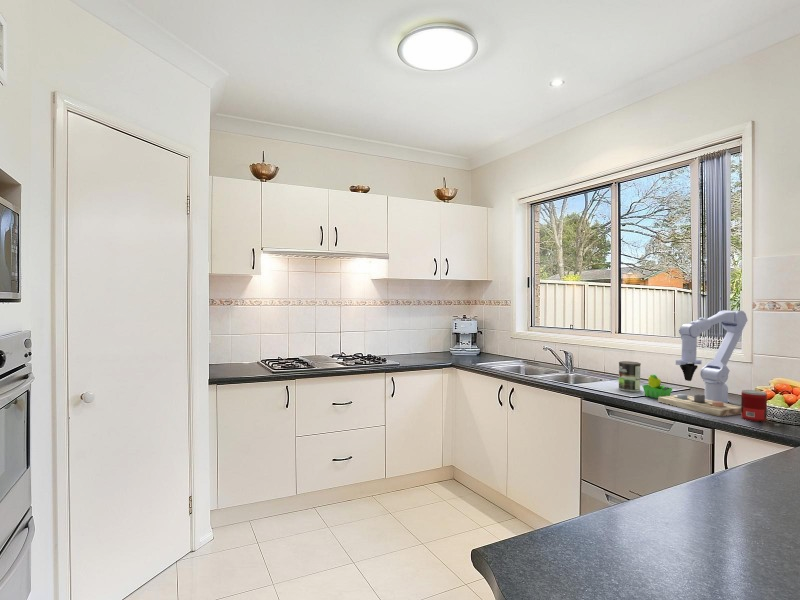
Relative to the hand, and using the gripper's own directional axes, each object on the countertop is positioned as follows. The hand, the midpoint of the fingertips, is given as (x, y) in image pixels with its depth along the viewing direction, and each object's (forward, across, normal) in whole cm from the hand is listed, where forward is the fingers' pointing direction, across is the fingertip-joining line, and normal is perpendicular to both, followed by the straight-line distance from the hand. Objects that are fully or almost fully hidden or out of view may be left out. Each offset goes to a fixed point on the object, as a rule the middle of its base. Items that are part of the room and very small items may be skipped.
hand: (688, 380), depth 214 cm
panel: (+10, -2, -7) cm, 13 cm away
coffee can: (+11, +3, +34) cm, 36 cm away
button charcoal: (+9, -2, -7) cm, 11 cm away
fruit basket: (+11, -1, +15) cm, 18 cm away
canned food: (+11, -2, -29) cm, 31 cm away
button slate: (+10, -2, +1) cm, 10 cm away
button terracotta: (+10, -2, -15) cm, 18 cm away
